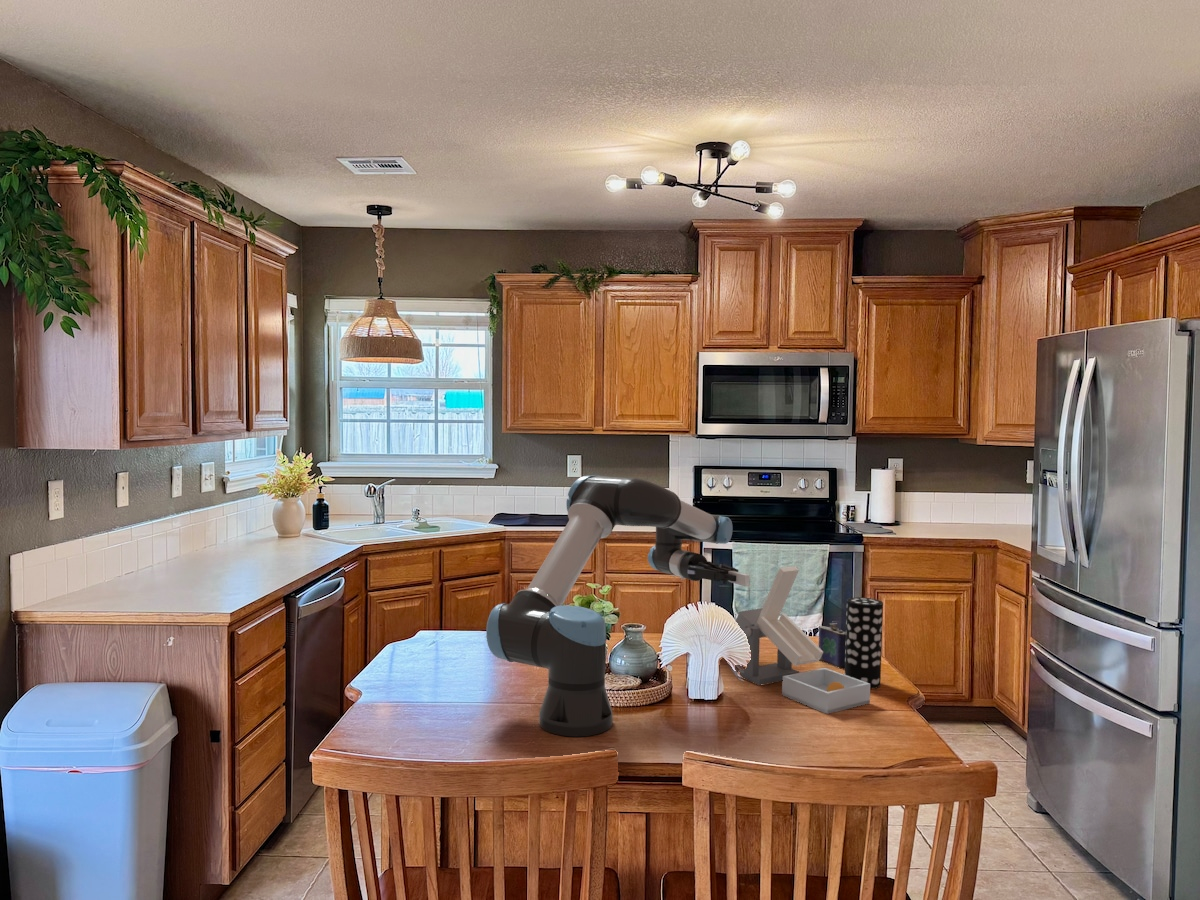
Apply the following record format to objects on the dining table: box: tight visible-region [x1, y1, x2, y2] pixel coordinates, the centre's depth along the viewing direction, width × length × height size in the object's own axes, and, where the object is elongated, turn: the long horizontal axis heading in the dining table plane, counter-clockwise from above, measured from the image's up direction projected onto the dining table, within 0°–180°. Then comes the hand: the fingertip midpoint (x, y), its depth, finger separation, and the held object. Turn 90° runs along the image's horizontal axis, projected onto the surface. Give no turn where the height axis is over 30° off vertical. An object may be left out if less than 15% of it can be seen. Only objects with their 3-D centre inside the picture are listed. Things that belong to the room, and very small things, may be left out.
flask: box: [818, 622, 846, 669], centre depth 219 cm, size 9×3×11 cm, turn 28°
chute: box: [735, 565, 823, 667], centre depth 202 cm, size 21×8×22 cm, turn 32°
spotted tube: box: [844, 596, 884, 689], centre depth 203 cm, size 8×8×20 cm
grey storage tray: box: [781, 667, 871, 715], centre depth 191 cm, size 14×14×4 cm
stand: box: [738, 625, 800, 686], centre depth 207 cm, size 8×15×13 cm, turn 122°
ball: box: [827, 682, 844, 692], centre depth 189 cm, size 4×4×4 cm
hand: (747, 580), depth 213 cm, fingers closed
